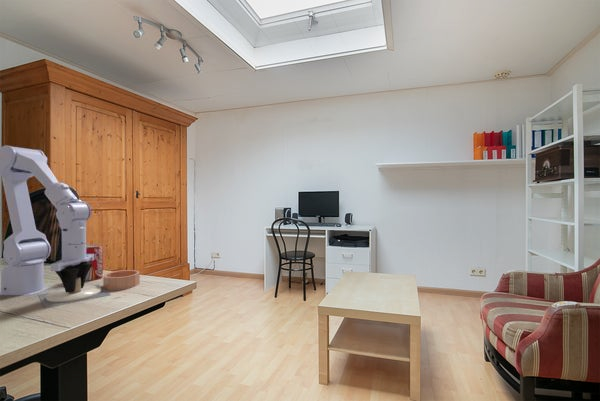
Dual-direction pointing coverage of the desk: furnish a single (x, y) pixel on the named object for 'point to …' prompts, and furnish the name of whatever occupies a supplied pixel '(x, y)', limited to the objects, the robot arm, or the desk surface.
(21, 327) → the desk surface
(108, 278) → the bowl
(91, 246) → the beverage can
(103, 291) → the mat
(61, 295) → the lid
